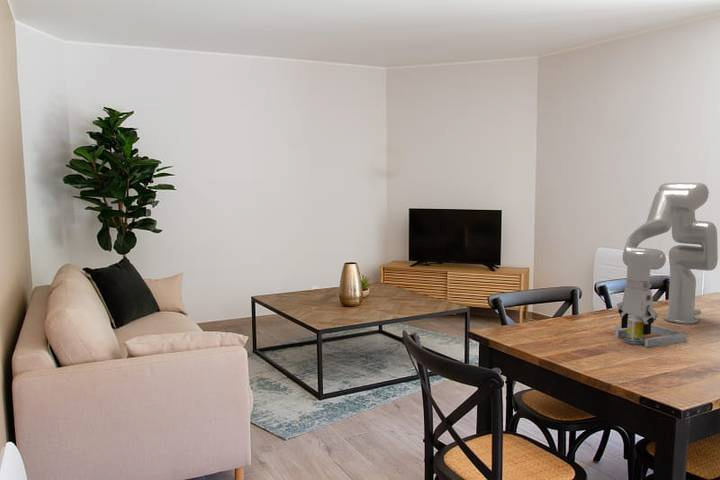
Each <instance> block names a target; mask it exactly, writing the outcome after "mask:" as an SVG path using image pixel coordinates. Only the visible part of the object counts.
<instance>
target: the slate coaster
mask: <svg viewBox="0 0 720 480" xmlns="http://www.w3.org/2000/svg"><path fill="white" fill-rule="evenodd" d="M622 341H623V343H625V344H628V345H634V346H645V339H644V340H643V341H641V342H634V341H630V340H628V339H627V337H624V338H623V339H622Z"/></svg>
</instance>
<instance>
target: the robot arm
mask: <svg viewBox="0 0 720 480" xmlns="http://www.w3.org/2000/svg"><path fill="white" fill-rule="evenodd" d="M709 193H710V192H709V188H708V186H707V185H706V184H705V183H701V182H665V183H663V184H661V185H660V186H659V187H658V191H657V192H656V193H655V195H654V197H653V200H652V203H651V207H650V210H649V212H648V216H647V219H646V222H645V223H643V224H641V225H640V226H638V227H637V228H636V229H635V230H634V231H632V233H631V234H630V236H629V237H628V238H627V240H626V243H625V245H624V248H623V253H622V262H623V263H624V265H625V266H627V267H626V268H627V269H626V286H625V287H624V292H623V295H622V301H621V302H618V303H617V304H616V307H617V311H618V314H619V317H620V318H621V321H620V322H621V323H620V326H621V328H627V324H628V318H629V317H630V315H634V316H637V317H641V318H642V319H643V321H644V322H645V324H643V335H644V336H646V335H651V334H652V333H651V324H654V322H656V320H657V318H658V316H659V313H658V312H657V311H656V310H654V300H653V299H654V298H653V293H652V290H651V289H650V288H652V284H651V283H650V282H651V281H650V280H651V270H655V271H656V270H660V269H662V268H663V267H664V265H665V264H666V262H667V256H666V253H665V252H664V251H663V250H661V249H657V248H646V247H638V246H639V245H640V244H641V243H642V242H644V241H646V240H647V239H650V238H654V237H656V236H659V235H662V234H665V233H668V232H669V231H670V230H671V237H672V240H673V241H674V242H675V243H678V244H679V245H674V246H672V247H671V248H670V249H669V250H668V262H669V263H668V264H669V285H668V286H669V290H668V307H667V308H668V309H667V314H664V315H663V319H664V320H665V321H667V322H671V323H676V324H685V325H686V324H687V325H688V324H689V325H690V324H697V323H699V319H698V318H697V317H696V316H700V315H702V311H701V310H700V309H697V310H696V309H695V303H696V302H695V301H696V289H697V288H696V287H697V286H696V285H697V279H696V276H695V275H694V273H693V271H692V270H697V271H705V272H706V271H713V270H715V269H716V268H717V265H718V259H719V257H718V256H719V255H718V253H719V252H718V250H719V249H718V231H717V227H716V225H715V223H713V222H711V221H706V220H697V219H696V210H698V209H699V208H700V207H702V206H703V205H704V204H705V203H707V201H708V198H709V195H710V194H709ZM685 244H686V245H685ZM696 245H697V246H696ZM698 245H699V246H698Z"/></svg>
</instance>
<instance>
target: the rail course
mask: <svg viewBox="0 0 720 480" xmlns="http://www.w3.org/2000/svg"><path fill="white" fill-rule="evenodd" d="M644 324H645V322H644ZM614 327H615V328H614V329H615V330H614V333H615V338H616V339H621V338H627V328H621V325H619V324H616V325H614ZM651 334H655V335H658V336H654V337H650V338H649V337H648V338H644V340H645V345H644V348H646V349H649V348H650V349H651V348H655V347H662V346H669V345H675V344H681V343H682V344H683V343H686V342H687V338H688V337H687V335H688V334H687V333H685V332H682V331H678V330H674V329H671V328H668V327H663V326H661V325H660V326H659V325H657V324H654V323H652V324H651Z"/></svg>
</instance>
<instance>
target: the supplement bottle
mask: <svg viewBox="0 0 720 480" xmlns="http://www.w3.org/2000/svg"><path fill="white" fill-rule="evenodd" d="M628 317H629V318H628V324H627V337H626V338H627V339H628V340H630V341H634V342H641V341H643V340H645V335H643V324H644V321H643V319H642V318H641V317H637V316H634V315H629V316H628Z"/></svg>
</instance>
